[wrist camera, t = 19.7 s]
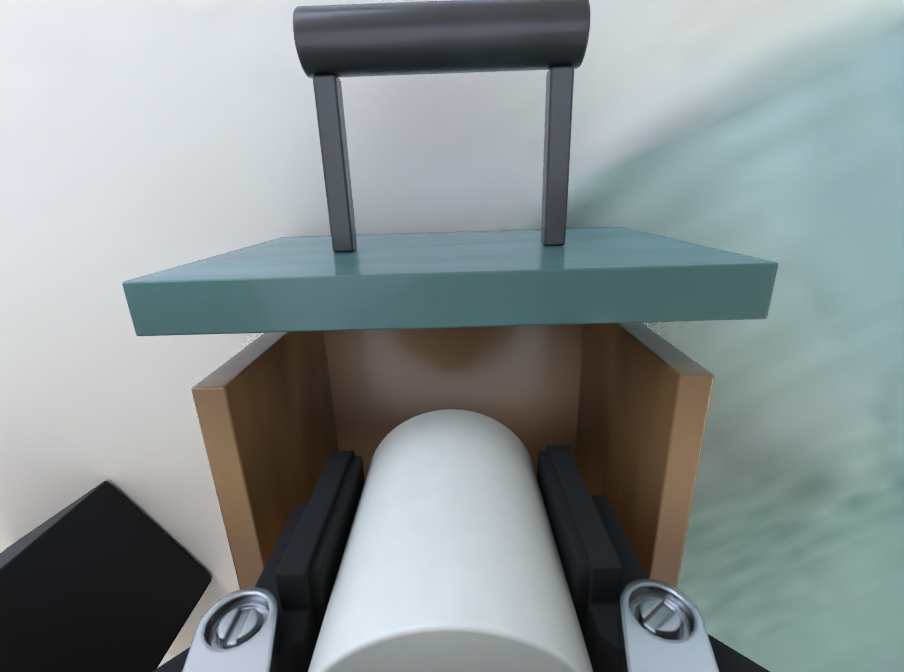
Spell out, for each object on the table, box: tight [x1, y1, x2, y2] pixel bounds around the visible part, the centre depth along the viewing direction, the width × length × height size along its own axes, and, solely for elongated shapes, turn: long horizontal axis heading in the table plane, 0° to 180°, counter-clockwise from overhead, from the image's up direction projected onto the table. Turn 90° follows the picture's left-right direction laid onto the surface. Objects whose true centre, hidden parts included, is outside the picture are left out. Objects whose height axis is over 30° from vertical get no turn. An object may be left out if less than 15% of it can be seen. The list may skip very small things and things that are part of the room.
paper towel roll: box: [308, 409, 593, 672], centre depth 9 cm, size 5×5×6 cm
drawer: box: [122, 0, 778, 590], centre depth 14 cm, size 20×14×9 cm, turn 2°
